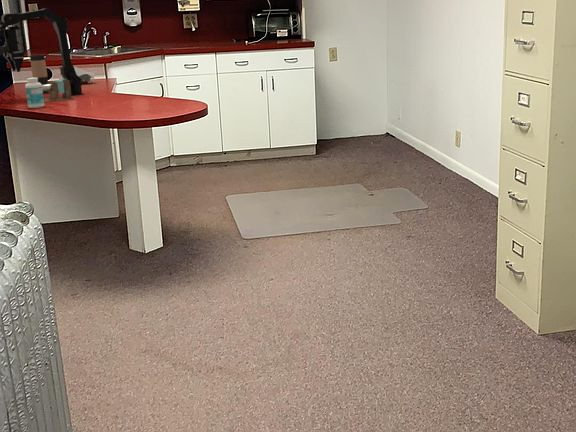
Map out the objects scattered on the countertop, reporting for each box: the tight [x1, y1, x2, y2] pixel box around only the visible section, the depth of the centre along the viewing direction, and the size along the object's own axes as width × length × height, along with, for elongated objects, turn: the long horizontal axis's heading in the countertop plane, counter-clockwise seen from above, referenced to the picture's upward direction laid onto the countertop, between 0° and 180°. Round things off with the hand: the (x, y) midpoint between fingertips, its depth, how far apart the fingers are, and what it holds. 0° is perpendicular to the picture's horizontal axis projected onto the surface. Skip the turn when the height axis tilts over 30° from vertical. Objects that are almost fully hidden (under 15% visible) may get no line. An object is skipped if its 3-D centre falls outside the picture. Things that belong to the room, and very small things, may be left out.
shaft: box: [42, 84, 65, 91], centre depth 373 cm, size 19×4×4 cm, turn 122°
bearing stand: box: [44, 80, 76, 103], centre depth 373 cm, size 20×10×9 cm, turn 122°
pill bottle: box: [24, 77, 45, 109], centre depth 350 cm, size 8×7×14 cm
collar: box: [53, 79, 65, 95], centre depth 375 cm, size 3×6×6 cm, turn 32°
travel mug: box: [29, 54, 49, 95], centre depth 404 cm, size 8×8×20 cm
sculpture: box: [58, 66, 95, 84], centre depth 448 cm, size 25×19×10 cm
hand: (16, 71), depth 376 cm, fingers open, 9 cm apart
